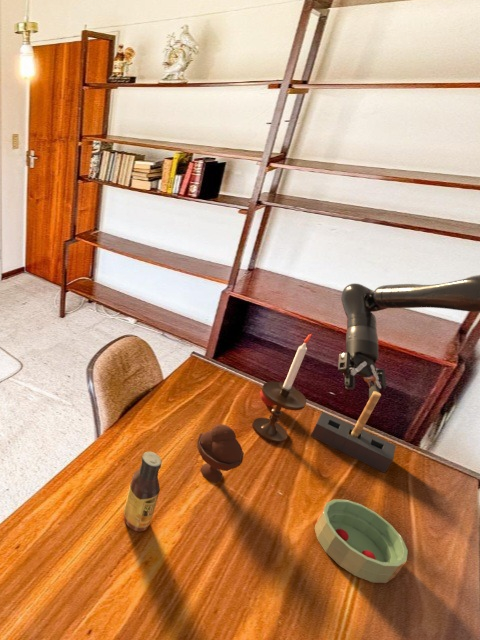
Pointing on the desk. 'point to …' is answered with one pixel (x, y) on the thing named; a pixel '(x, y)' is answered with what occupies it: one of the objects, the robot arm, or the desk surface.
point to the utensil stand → (354, 442)
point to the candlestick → (281, 401)
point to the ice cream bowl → (219, 452)
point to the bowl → (361, 541)
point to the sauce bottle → (143, 493)
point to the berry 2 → (368, 554)
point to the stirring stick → (365, 414)
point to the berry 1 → (342, 534)
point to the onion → (265, 400)
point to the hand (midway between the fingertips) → (362, 394)
